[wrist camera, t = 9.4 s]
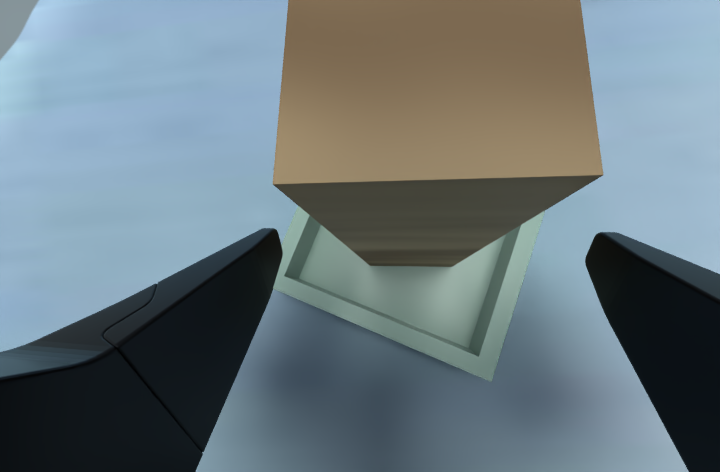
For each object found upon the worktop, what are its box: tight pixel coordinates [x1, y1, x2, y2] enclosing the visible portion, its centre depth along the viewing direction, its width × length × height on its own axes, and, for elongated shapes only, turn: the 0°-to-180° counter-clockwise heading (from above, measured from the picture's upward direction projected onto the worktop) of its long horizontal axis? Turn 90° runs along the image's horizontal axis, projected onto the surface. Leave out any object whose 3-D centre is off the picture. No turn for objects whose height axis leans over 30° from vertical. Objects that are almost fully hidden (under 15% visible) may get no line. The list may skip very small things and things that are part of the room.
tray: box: [273, 206, 545, 382], centre depth 17 cm, size 12×12×3 cm
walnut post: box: [273, 0, 603, 267], centre depth 11 cm, size 4×4×13 cm
